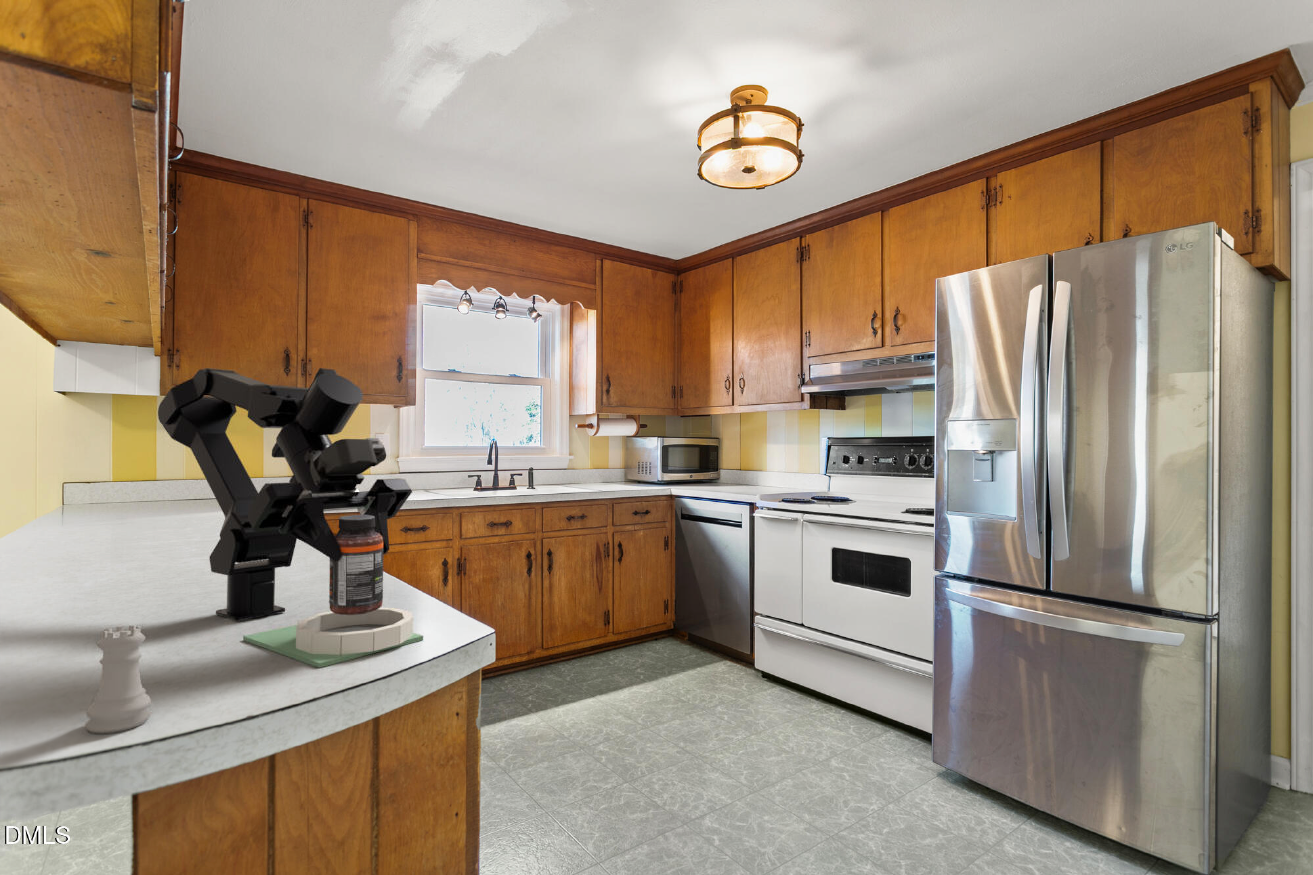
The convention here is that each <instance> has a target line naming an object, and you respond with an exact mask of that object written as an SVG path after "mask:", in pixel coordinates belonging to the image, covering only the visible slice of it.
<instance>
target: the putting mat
mask: <svg viewBox="0 0 1313 875" xmlns="http://www.w3.org/2000/svg"><path fill="white" fill-rule="evenodd" d="M296 627H297V624H293V625H289V626H285V627H279V628H276V629H271V630H266V631H261V632H256V633H252V634H251V633H250V634H246V635H243V636H242V637H243V638H242V639H243V641H245V642H247V643H251V644H253V645H256V646H259V647H261V648H264V649H267V650H270V651H271V652H275V653H277V654H281V655H283V656H285V657H289V658H292V659H294V660H296V661H300V662H302V663H305V664H308V665H310V666H313V667H316V668H319V669H320V668H323V667H327V666H331V665H335V664H338V663H339V664H340V663H343V662H347V661H350V660H353V659H357V658H360V657H361V658H362V657H365V656H368V655H372V654H375V653H376V654H377V653H379V652H383V651H386V650H390V649H394V648H398V647H401V646H405V645H409V644H412V643H417V642H419V641H424V635H422V634H419V633H414V632H413V633H412V637H410V638H409V639H407V640H406V641H404V642H403V643H401V644H399V645H395V646H391V647H387V648H384V649H380V650H376V651H371V652H362V653H353V654H344V655H341V654H340V655H331V654H312V653H308V652H305V651H302V650H299V649H296Z"/></svg>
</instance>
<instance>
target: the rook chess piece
mask: <svg viewBox="0 0 1313 875" xmlns="http://www.w3.org/2000/svg"><path fill="white" fill-rule="evenodd" d="M124 628H125V627H124V625H121V626H120V625H119V626H116V627H115V632H114V631H113V628H112V627H110V628H106V629H104V630H103V631H102V637H101V638H99V640H98V641H97V642H96V643H95V644H96V646H97V647H98V648H99V649H100V650H101V652H102V653H103V655H102V658H101V659H100V660H99V664H100V665H101V666H102V669H101V671H102V672H101V678H100V682H99V689H98V690H97V693H96V696H95V697H94V698H93V703H92V704H91V705H90V706H89V707H88V708H87V711H86V717H87V718H89V720H88V721H86V723H85V724H84V726H85V728H86V730H88V731H89V732H90V733H92V734H96V735H97V734H100V735H101V734H102V735H106V734H107V735H108V734H115V733H120V732H125V731H128V730H132V729H134V728H135V729H136V728H138V727H139V726H142V725H143V724H145V723H146V722H147V721H148V720H149V719H150V718H151V716H152V714H153V711H152V709H150V706H151V704H152V699H151V697H150V695H148V694H147V693H146V692H147V690H146V688H144V687H143V684H142V681H141V675H140V659H142V657H143V655H142V654H141V653H140V651H139V649H140V646H142V644H143V642H144V641H145V640H146V639H147V638H146V636H145V635H144V634H143V633H142V632H141V630H142V629H141V628H142V627H141V626H140V625H138V626H137V625H133V624H132V625H131V624H130V625H128V630H124Z"/></svg>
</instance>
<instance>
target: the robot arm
mask: <svg viewBox="0 0 1313 875" xmlns="http://www.w3.org/2000/svg"><path fill="white" fill-rule="evenodd" d="M363 396H364V395H363V390H362V389H361V388H360V387H359V386H358V385H356V384H354V383H353V382H352V381H351V380H349V379H348V378H345V377H344V376H341V375H338V374H337V372H336V370H335V369H331V368H330V369H329V368H322V367H320V368H319V369H318V370H317V372H316V374H315V377H314V380H313V381H312V383H311V384H310V386H309V387H301V386H288V385H287V386H285V385H277V384H268V383H265V382H262V381H258V380H256V379H253V378H250V377H247V376H245V375H242V374H240V373H238V372H235V371H234V370H230V369H229V370H228V369H219V368H209V367H206V368H203V369H202V368H201V369H198V370H197V371H196V373H195V374H194V375H193V377H192V378H189V379H188V380H186V381H183V382H181V383H180V384H178V385H175V386H174V387H172V388H170V389H169V390H168V392H167V393H166V395H165V396H164V397H163V399H162V400H161V402H160V403H159V405H158V409H157V416H158V417H157V418H158V421H159V423H160V424H161V426H162V427H163V428H164V430H165V431H166V432H167V434H168V436H170V438H171V439H172V440H173V441H175V442H178V443H180V444H181V445H184V446H185V447H186V448H188V449H190V450H191V452H192V454H193V456H194V458H195V460H196V462H197V463H198V466H199V468H200V470H201V472H202V474H203V475H204V478H205V479H206V482H207V484H208V485H209V488H210V490H211V491H212V493H213V496H214V498H215V499H216V502H217V503H218V506H219V508H220V510H221V511H222V513H223V515H224V521H223V524H222V526H221V530H220V532H219V540H218V541H217V543H216V545H215V546H214V549H213V550H212V552H211V554H210V555H209V556H208V557H209V563H210V564H209V566H210V571H211V573H213V574H214V573H215V574H220V575H225V576H227V577H226V578H227V580H226V581H227V585H226V608H223V609H222V608H221V609H217V610H215V615H217V616H220V617H224V618H226V619H230V620H233V621H243V620H248V619H254V618H258V617H259V618H260V617H265V616H269V615H274V614H280V613H281V614H282V613H285V612H286V607H282V606H279V605H275V599H276V597H275V592H276V590H275V589H276V569H278V568H283V567H285V568H289V567H291V565H292V562H293V557H294V552H295V550H296V549H295V548H296V545H297V541H298V540H299V541H301V542H302V543H305V544H306V545H308V546H310V547H312V548H313V549H315V550H317V551H318V552H319V553H322V554H323V555H325V557H327V558H329V559H330V558H331V559H332V560H334V561H339V560H340V558H341V557H342V553H341V550H340V548H339V545H338V543H337V541H336V539H335V537H334V536H335V534H334V533H333V531H332V528H331V527H330V524H329V523H328V521H327V519H326V517H325V512H333V511H347V510H357V512H359V515H372V516H374V517H375V527H374V528H373V529H374V531H375V532H377V533H379V534H380V535H381V536H382V537H383V555H387V553H388V552H389V551H390V544H389V543H390V541H389V538H390V537H389V530H388V520H390V519H392V518H394V517H395V516H396V515H397V514H398V512H399V511H400V509H402V506H404V504H405V502H406V501H407V500H408V499H409V497H410V496H411V494H412V493H413V489H411V487H410V485H409V483H408V481H407V480H406V479H405V478H379V479H378V478H377V479H376V480H375V482H374V483H373V485H371V488H370V489H369V490H367V491H359V489H357V487H356V486H357V485H361V484H362V482H363V481H364V480H365V476H364V474H363V473H364V472H366V471H368V469H370V468H372V467H376V466H378V465H380V464H381V463H382V462H384V461H385V460H386V458H387V451H386V448H385V445H383V443H382V442H381V440H380V439H379V438H378V437H377V438H375V437H374V438H373V437H367V438H364V439H363V438H342V439H337V440H335V441H334V442H332V440H331V439H330V437H329V436H333V435H338V434H340V433H341V432H343V430H344V428H345V426H347V425H348V422H349V420H350V419H351V417H352V416H353V414H354V413H355V411H356V409H358V406H360V403H361V402H362V400H363V398H364V397H363ZM237 407H238V408H240V409H243V410H246V411H247V418H248V419H249V420H250V421H251V422H253V423H254V424H256V426H258V427H260V428H263V429H280V431H279V433H278V434H277V436H276V438H275V440H276V442H275V443H274V445H273V447H272V449H271V457H272V458H277V459H279V458H284V459H285V462H287V465H288V467H289V468H290V471H291V473H292V476H291V478H290V479H289V482H270V483H269V482H267V483H264V484H263V486H262V487H261V489H260V490H259V491H258V490H257V488H256V486H255V484H254V482H253V480H252V479H251V477H250V475H249V473H248V471H247V470H246V468H245V466H244V464H243V462H242V460H241V459H240V457H239V455H238V452H237V451H236V450H235V447H234V446H233V444H232V442H231V440H230V439H229V436H228V434H227V430H228V427H229V425H230V423H231V422H230V421H231V419H232V418H233V417H234V416H235V414H236V413H237ZM297 539H298V540H297Z"/></svg>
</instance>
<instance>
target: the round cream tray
mask: <svg viewBox="0 0 1313 875" xmlns="http://www.w3.org/2000/svg"><path fill="white" fill-rule="evenodd" d="M413 619H414V617H413V614H412V613H411V611H408V610H404V609H401V608H397V607H382V606H381V607H380V608H379V609H377V610H375V611H372V612H369V613H365V614H358V615H340V614H335V613H333V612H332V611H331V610H330V611H327V612H320V613H318V614H313V615H310V616H309V617H306V618H304V619H301V620H298V621H297V622H296V625H297V627H296V649H299V650H302V651H305V652H308V653H312V654H331V655H340V654H341V655H344V654H353V653H362V652H371V651H376V650H380V649H384V648H387V647H391V646H395V645H399V644H401V643H403V642H404V641H406V640H407V639H409V638H410V637H412V633H414V632H413V627H414V626H413V625H414V624H413V623H414V622H413V621H414V620H413Z"/></svg>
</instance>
